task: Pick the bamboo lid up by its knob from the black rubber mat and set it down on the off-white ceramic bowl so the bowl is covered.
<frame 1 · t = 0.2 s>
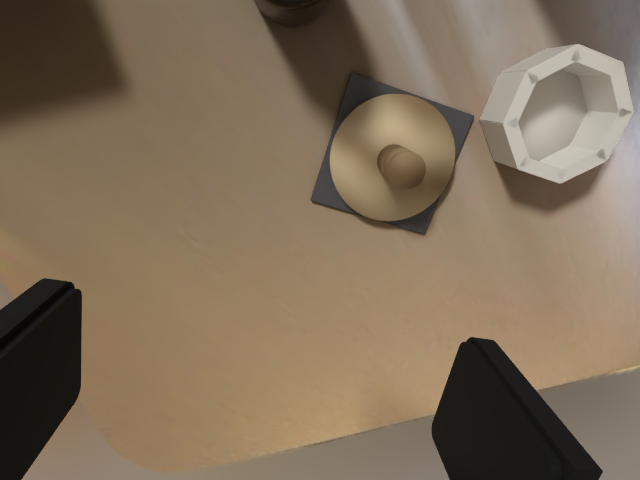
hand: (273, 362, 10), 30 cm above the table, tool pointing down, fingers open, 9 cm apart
bowl: (538, 114, 39), on the table
mat: (389, 158, 39), on the table
lid: (390, 159, 39), resting on mat
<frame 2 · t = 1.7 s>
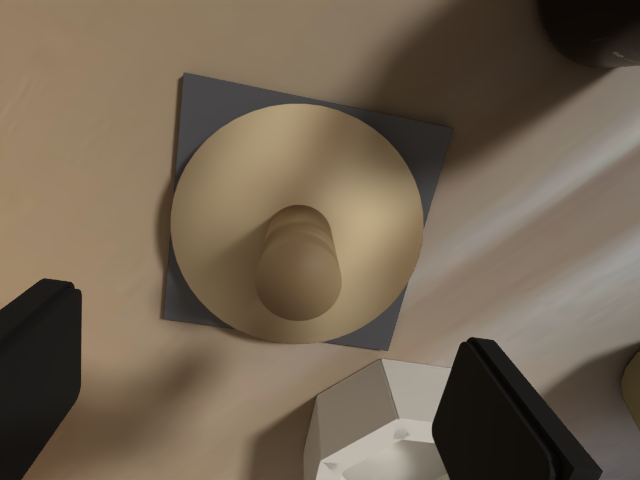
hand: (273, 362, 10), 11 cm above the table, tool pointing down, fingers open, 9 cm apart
bowl: (394, 434, 25), on the table
mat: (299, 227, 20), on the table
lid: (299, 229, 20), resting on mat
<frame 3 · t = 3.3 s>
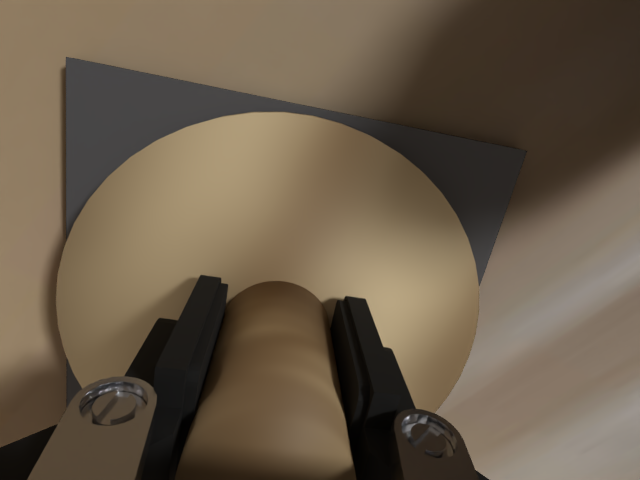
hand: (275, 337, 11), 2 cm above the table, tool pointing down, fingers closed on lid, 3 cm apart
mat: (276, 305, 13), on the table
lid: (276, 311, 12), resting on mat, touching gripper
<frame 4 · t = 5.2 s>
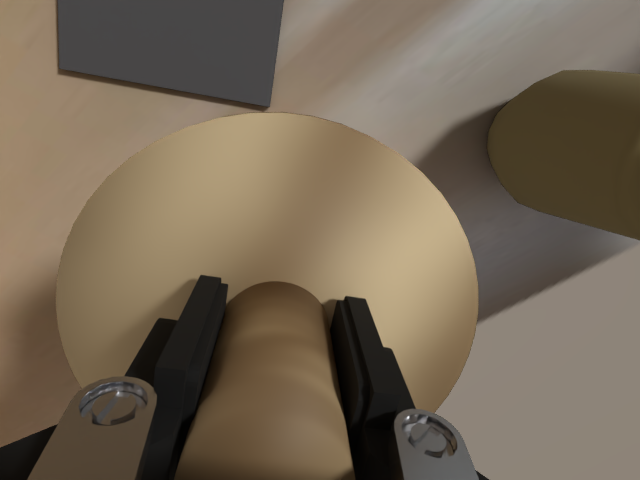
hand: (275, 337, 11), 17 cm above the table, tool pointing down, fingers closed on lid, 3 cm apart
squeeze bottle: (527, 137, 27), on the table
lid: (276, 312, 12), point 16 cm above the table, touching gripper
when the fingers open (7 cm above the table, at t = 7.3 s): lid drops 1 cm, resting on bowl.
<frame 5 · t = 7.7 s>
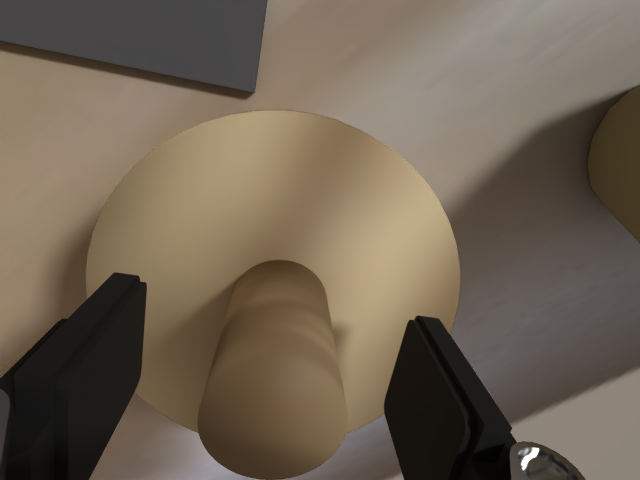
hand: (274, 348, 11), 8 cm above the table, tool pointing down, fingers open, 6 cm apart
lid: (280, 289, 14), point 4 cm above the table, touching bowl
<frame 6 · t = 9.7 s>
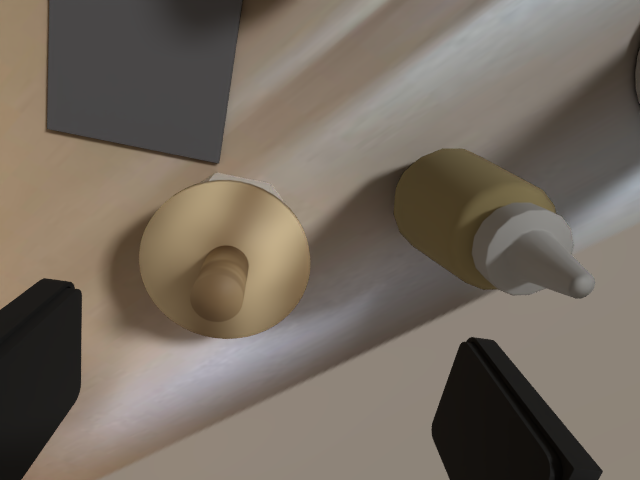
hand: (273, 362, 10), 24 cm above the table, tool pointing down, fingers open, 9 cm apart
bowl: (233, 239, 34), on the table
mat: (144, 60, 29), on the table
squeeze bottle: (428, 192, 34), on the table
lid: (228, 260, 29), point 4 cm above the table, touching bowl
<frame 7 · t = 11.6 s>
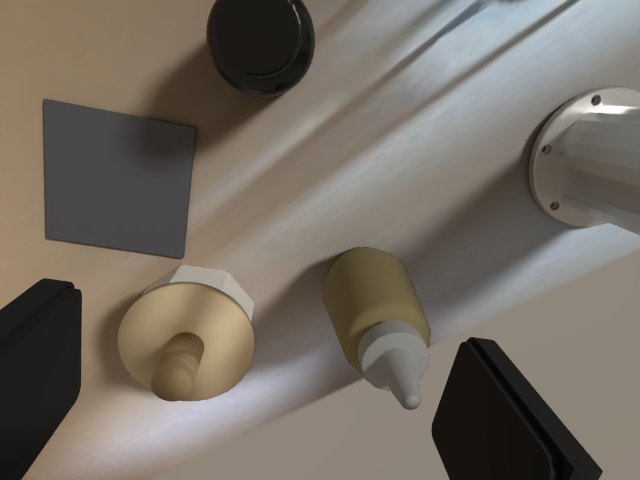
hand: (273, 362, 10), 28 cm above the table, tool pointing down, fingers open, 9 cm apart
bowl: (199, 315, 41), on the table
supplement bottle: (267, 52, 34), on the table
mat: (120, 183, 36), on the table
squeeze bottle: (359, 273, 41), on the table
lid: (189, 340, 37), point 4 cm above the table, touching bowl
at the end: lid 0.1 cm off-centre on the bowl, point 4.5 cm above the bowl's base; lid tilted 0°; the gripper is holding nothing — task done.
